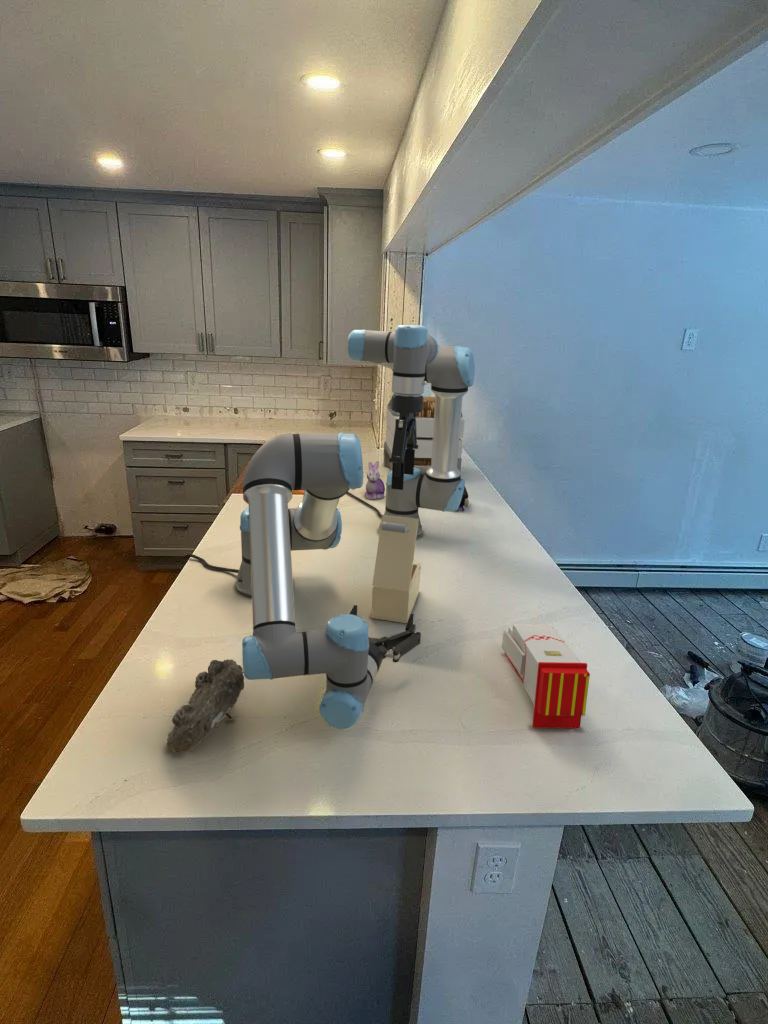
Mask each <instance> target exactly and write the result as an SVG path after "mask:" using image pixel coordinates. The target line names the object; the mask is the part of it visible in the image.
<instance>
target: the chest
mask: <svg viewBox="0 0 768 1024" xmlns="http://www.w3.org/2000/svg"><path fill="white" fill-rule="evenodd" d="M421 567H422V564H421V563H414V562H413V568H412V575H411V583H410V590H409V591H406V590H399V589H392V588H385V587H378V586H372V591H371V592H372V594H371V595H372V596H371V598H372V599H371V615H370V617H371V619H376V620H382V621H389V622H395V623H401V624H407V622H408V619H409V617H410V614H412V612H413V609H414V607H415V603H416V602H417V598H418V596H419V594H420V583H421V581H420V579H421Z"/></svg>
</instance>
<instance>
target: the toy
mask: <svg viewBox="0 0 768 1024" xmlns="http://www.w3.org/2000/svg"><path fill="white" fill-rule="evenodd" d="M507 629H508V630H507ZM507 629H503V633H502V640H501V649H502V650H503V652H504V656H505V657H506V659H507V660H508V662H509V664H510V665H511V667H512V669H513V671H514V672H515V673H516V675H517V676H518V678H519V679H520V681H521V683H522V684H523V687H524V688H525V690H526V692H527V694H528V696H529V698H530V700H531V702H532V704H533V715H532V726H531V727H532V728H533V729H581V723H582V717H585V716H586V710H587V701H588V695H589V694H588V693H589V685H590V677H591V674H590V672H589V671H588V663H587V662H581V660H580V659H579V658H578V657H577V655H576V654H575V652H573V651H572V649H571V647H570V646H569V645H568V644H567V643H566V641H565V640H564V639H563V638H562V636H561V635H560V634H559V632H558V630H556V629H555V627H554V626H553V624H539V623H538V624H536V623H535V624H532V623H531V624H530V623H512V625H511V626H510V625H508V628H507Z"/></svg>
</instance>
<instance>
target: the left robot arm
mask: <svg viewBox="0 0 768 1024" xmlns="http://www.w3.org/2000/svg"><path fill="white" fill-rule="evenodd" d="M363 485H364V464H363V452H362V445H361V440H360V438H359V436H358V435H357V434H355V433H345V432H342V431H341V432H339V433H288V432H287V433H282V434H279V435H275V436H273V437H271V438H270V439H268V440H266V441H265V442H264V443H263V444H262V445H261V446H260V447H259V448H258V449H257V450H256V451H255V453H254V454H253V456H252V457H251V459H250V460H249V463H248V465H247V467H246V470H245V472H244V476H243V481H242V500H243V501H244V502H245V503H246V504H247V505H248V506H247V507H245V508H244V509H243V510H242V512H241V513H240V520H239V521H240V523H239V524H240V525H239V531H240V543H241V545H240V546H241V563H240V566H239V569H236V568H227V567H223V566H217V565H216V566H215V565H211V564H209V563H208V562H207V561H206V560H205V559H204V558H202V557H200V556H198V555H196V554H194V553H193V554H192V553H187V554H185V555H184V556H183V557H182V558H183V559H188V558H193V559H196V560H197V561H199V562H202V564H203V565H204V566H205V567H207V568H209V569H212V570H217V571H224V572H228V573H236V574H237V576H236V579H235V580H236V581H235V586H236V589H237V591H238V592H239V593H241V594H243V595H245V596H247V597H248V596H249V597H251V611H252V613H251V614H252V634H250V635H249V636H245V637H243V639H242V640H241V641H242V642H241V644H242V649H241V650H242V652H241V653H242V669H243V676H244V678H245V679H246V680H250V681H258V680H270V681H273V680H274V679H281V678H282V679H283V678H291V677H292V678H293V677H301V676H314V675H324V674H325V679H326V680H325V682H326V683H325V684H326V686H325V692H324V693H323V695H321V700H320V704H319V714H320V717H321V718H322V720H323V722H324V723H326V724H327V725H329V726H330V727H332V728H334V729H340V730H346V729H347V730H348V729H350V728H352V727H354V726H355V725H356V724H357V723H358V721H359V720H360V718H361V715H362V714H363V713H364V708H365V706H366V703H367V700H368V698H369V695H370V692H371V690H372V687H373V685H374V682H375V680H376V677H377V675H378V672H379V671H380V668H381V665H382V663H383V660H384V659H386V658H389V659H392V662H393V663H395V664H396V663H399V661H400V659H401V657H403V656H404V655H406V654H407V653H409V652H411V651H412V650H414V649H415V648H416V647H418V646H419V645H421V638H422V636H421V635H422V633H421V631H416V627H417V626H416V624H415V623H414V618H415V616H414V613H411V614H410V617H409V619H408V622H407V623H406V624H405V629H404V631H401V632H399V633H396V634H393V635H390V636H388V637H387V636H383V637H380V638H377V637H369V625H368V623H367V621H366V620H364V619H363V618H362V617H361V616H359V615H358V605H357V604H354V605H353V606H352V608H351V610H350V612H349V613H342V614H341V613H340V614H338V615H337V616H333V617H331V618H329V620H328V621H327V623H326V628H325V629H321V630H320V629H319V630H308V631H307V630H306V631H297V627H296V611H295V610H296V609H295V596H294V579H293V578H294V577H293V564H292V563H293V562H292V561H293V560H292V552H293V551H309V550H310V551H313V550H322V551H323V550H325V551H326V550H329V549H330V550H331V549H335V548H336V547H338V545H339V544H340V542H341V539H342V532H343V521H342V516H341V512H340V510H339V509H338V505H339V502H340V500H341V499H342V497H345V495H346V494H347V492H349V490H353V491H354V490H356V489H361V488H362V487H363ZM293 491H304V492H303V496H302V502H301V503H300V504H299V505H298V506H297V507H292V508H291V507H290V508H289V503H290V501H291V500H292V499H293Z"/></svg>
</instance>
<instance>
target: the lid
mask: <svg viewBox="0 0 768 1024" xmlns="http://www.w3.org/2000/svg"><path fill="white" fill-rule="evenodd" d="M381 515H382V518H380V519H381V520H380V523H381V526H380V525H379V526H380V532H379V535H378V542H377V549H376V555H375V556H376V557H375V563H374V569H373V570H374V571H373V579H372V587H373V586H378V587H385V588H392V589H399V590H406V591H409V590H410V583H411V575H412V568H413V563H414V559H415V551H416V543H417V538H416V537H417V529H418V522H419V519H414V518H406V517H398V516H390V515H384V514H381Z"/></svg>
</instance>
